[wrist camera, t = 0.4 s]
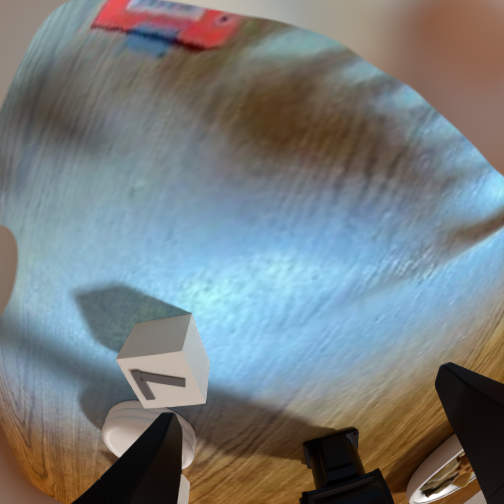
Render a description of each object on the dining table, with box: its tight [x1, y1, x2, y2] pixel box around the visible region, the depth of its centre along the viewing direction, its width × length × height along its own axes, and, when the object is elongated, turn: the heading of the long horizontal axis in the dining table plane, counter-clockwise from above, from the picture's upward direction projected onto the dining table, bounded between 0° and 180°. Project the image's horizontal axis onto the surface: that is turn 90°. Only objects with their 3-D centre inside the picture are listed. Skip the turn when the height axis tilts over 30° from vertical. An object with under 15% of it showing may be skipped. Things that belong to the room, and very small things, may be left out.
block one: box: [177, 474, 190, 504], centre depth 28 cm, size 5×5×5 cm
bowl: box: [407, 433, 476, 504], centre depth 31 cm, size 30×30×8 cm
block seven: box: [116, 313, 210, 408], centre depth 21 cm, size 5×5×5 cm
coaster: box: [102, 400, 196, 469], centre depth 25 cm, size 10×10×4 cm
